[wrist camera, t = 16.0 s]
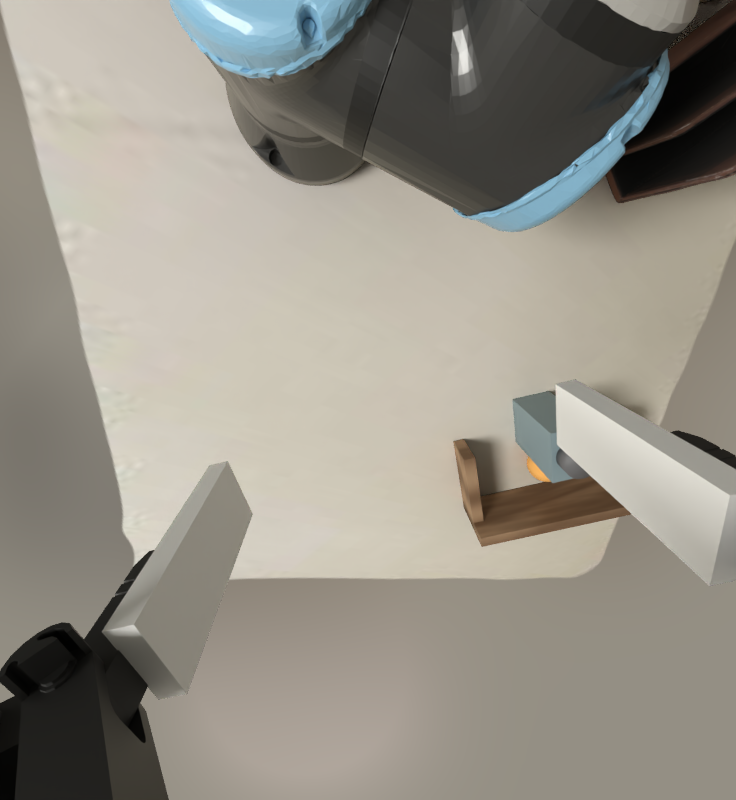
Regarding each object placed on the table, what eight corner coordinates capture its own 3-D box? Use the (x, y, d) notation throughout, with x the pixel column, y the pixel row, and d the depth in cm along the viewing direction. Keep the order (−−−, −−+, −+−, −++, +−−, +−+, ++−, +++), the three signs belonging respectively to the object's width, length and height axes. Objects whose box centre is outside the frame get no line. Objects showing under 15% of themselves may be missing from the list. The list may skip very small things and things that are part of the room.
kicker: (512, 399, 49) (560, 442, 38) (548, 390, 48) (607, 432, 37) (515, 441, 51) (561, 493, 40) (549, 434, 51) (605, 484, 40)
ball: (517, 464, 53) (524, 443, 50) (547, 457, 54) (556, 436, 50) (535, 492, 50) (544, 471, 46) (567, 484, 50) (579, 463, 47)
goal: (453, 441, 51) (471, 473, 43) (612, 404, 50) (658, 431, 42) (464, 507, 56) (481, 546, 48) (608, 475, 55) (649, 510, 47)
